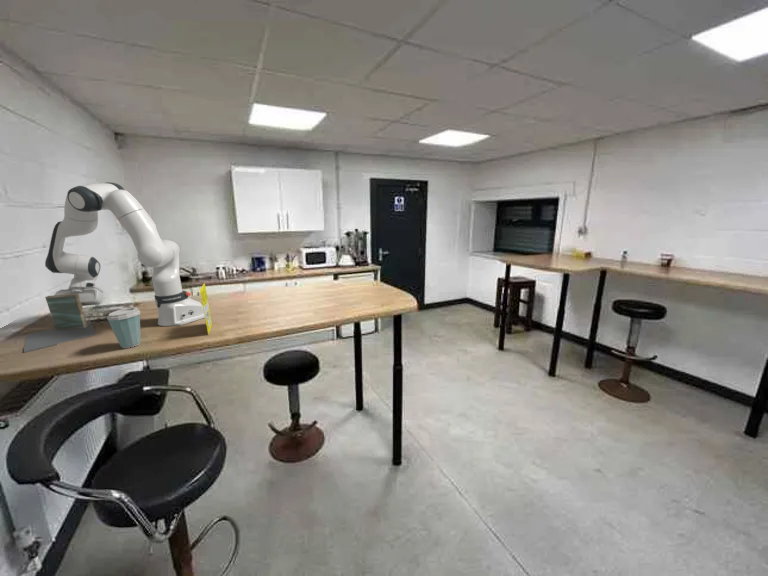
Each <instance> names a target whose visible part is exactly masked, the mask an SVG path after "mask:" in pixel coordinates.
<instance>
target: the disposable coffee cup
mask: <svg viewBox="0 0 768 576" xmlns="http://www.w3.org/2000/svg"><path fill="white" fill-rule="evenodd" d="M140 314H141V310H140V309H139V308H138V307H135V306H133V307H127V308H124V309H123V308H122V309H118V310H114V311H113V312H110V313H109V314H108V315H107V317H106V319H107V321H108V324H109V325H110V327H111V330H112V332H113V334H114V336H115V338H116V339H117V341H118V344H119V346H120V347H121V348H122V349H130V347H131V348H134V346H135V347H137V345H138V346H139V345H141V342H142V338H141V337H142V335H141V334H142V333H141V317H140Z"/></svg>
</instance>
